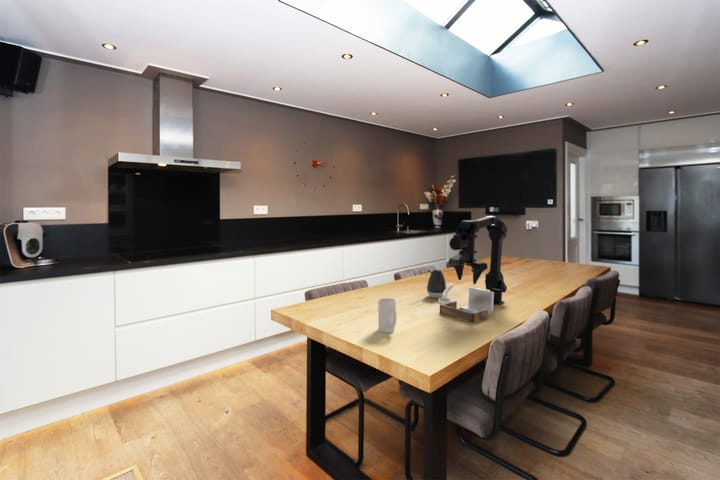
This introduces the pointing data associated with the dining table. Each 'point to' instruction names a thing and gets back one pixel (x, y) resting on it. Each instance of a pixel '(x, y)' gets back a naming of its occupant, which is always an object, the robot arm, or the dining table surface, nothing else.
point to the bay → (462, 313)
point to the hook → (445, 295)
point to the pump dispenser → (436, 284)
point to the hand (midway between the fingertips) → (466, 282)
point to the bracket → (479, 300)
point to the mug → (386, 315)
